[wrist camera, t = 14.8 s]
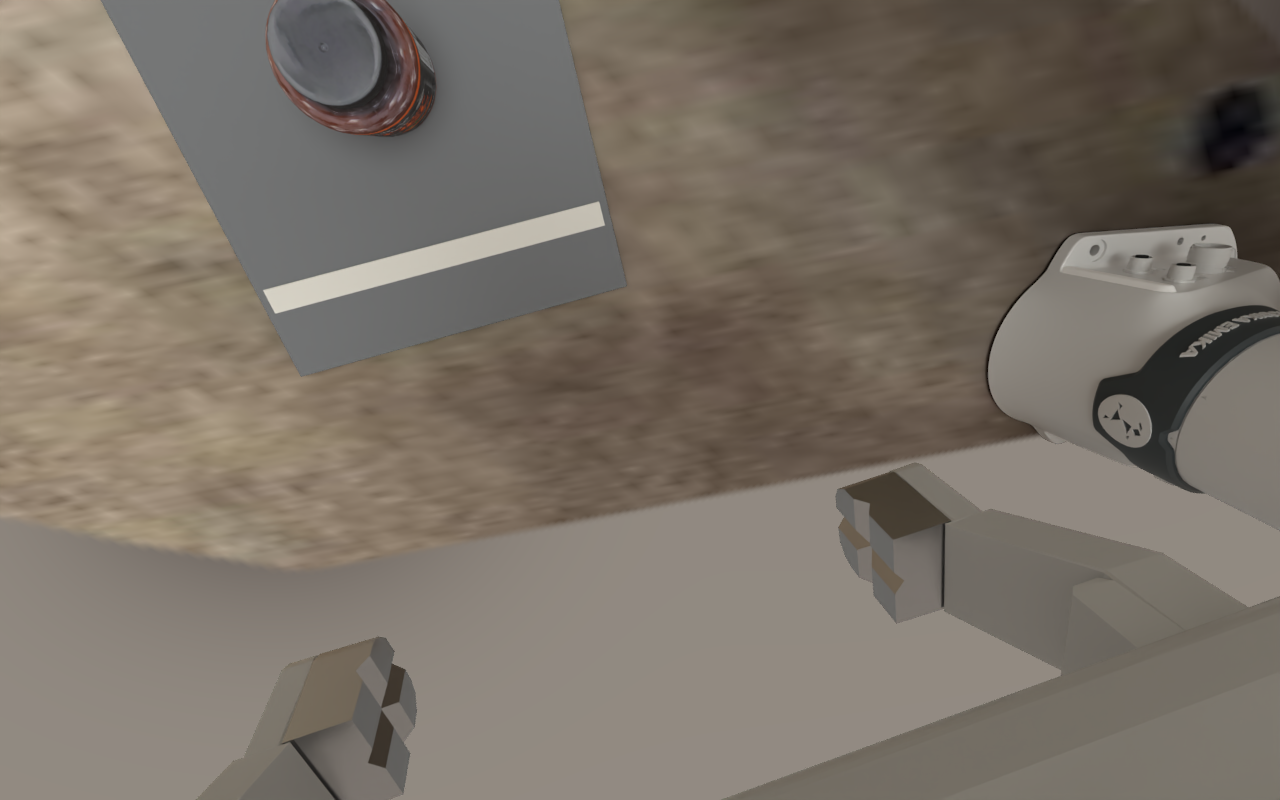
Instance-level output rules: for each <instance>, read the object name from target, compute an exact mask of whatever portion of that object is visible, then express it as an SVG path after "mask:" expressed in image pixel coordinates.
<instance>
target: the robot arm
mask: <svg viewBox="0 0 1280 800" xmlns="http://www.w3.org/2000/svg"><path fill="white" fill-rule="evenodd" d="M988 381H989V387H990V391H991V394H992V396H993V399H994V400H995V402H996V404H997V405H998V407H999V408H1000V409H1001V410H1002V411H1003V412H1004V413H1006V414H1007V415H1008V416H1010V417H1012V418H1014V419H1016V420H1019V421H1022V422H1025V423H1028V424H1030V425H1032V426H1033V427H1034V428H1035V430H1036V431H1037V432H1038V433H1039V435H1040V436H1041V437H1042V438H1044V439H1045V440H1047V441H1050V442H1052V443H1055V444H1061V443H1064V442H1066V441H1068V442H1071V443H1073V444H1076V445H1077V446H1080V447H1082V448H1085V449H1087V450H1089V451H1092V452H1094V453H1097V454H1099V455H1101V456H1104V457H1106V458H1108V459H1111V460H1113V461H1116V462H1118V463H1121V464H1123V465H1126V466H1129V467H1139V468H1141V469H1143V470H1145V471H1147V472H1149V473H1151V474H1153V475H1154V477H1155V478H1157V479H1160V480H1162V481H1164V482H1166V483H1168V484H1171V485H1175V486H1178V487H1180V488H1182V489H1184V490H1187V491H1190V492H1193V493H1205V494H1208V495H1210V496H1212V497H1214V498H1216V499H1218V500H1220V501H1222V502H1224V503H1226V504H1228V505H1230V506H1232V507H1234V508H1236V509H1238V510H1240V511H1242V512H1244V513H1246V514H1248V515H1250V516H1252V517H1253V518H1256V519H1258V520H1259V521H1262V522H1263V523H1265V524H1267V525H1269V526H1271V527H1273V528H1275V529H1277V530H1279V531H1280V281H1279V279H1278V276H1277V274H1276V273H1275V272H1274V271H1273V269H1271V268H1270V267H1269V266H1267V265H1264V264H1261V263H1256V262H1252V261H1247V260H1242V259H1237V247H1236V241H1235V238H1234V235H1233V232H1232V230H1231V228H1230V227H1228V226H1224V225H1220V224H1198V225H1184V226H1170V227H1157V228H1143V229H1129V230H1115V231H1101V232H1087V233H1077V234H1074V235H1072V236H1070V237H1069V238H1068V239H1067V240H1066V241H1065V242H1064V243H1063V244H1062V246H1061V247H1060V249H1059V250H1058V252H1057V253H1056V255H1055V257H1054V258H1053V260H1052V262H1051V264H1050V265H1049V267H1048V269H1047V271H1046V272H1045V273H1044V274H1043V275H1042V276H1041V277H1040V278H1039V280H1038V281H1036V282H1035V283H1034V284H1033V285H1032V286H1031V287H1030V288H1029V289H1028V290H1027V291H1026V292H1025V293H1024V294H1023V295H1022V296H1021V297H1020V299H1019V300H1018V301H1017V302H1016V303H1015V305H1014V306H1013V307H1012V309H1011V310H1010V312H1009V313H1008V314H1007V316H1006V318H1005V319H1004V321H1003V323H1002V325H1001V327H1000V329H999V331H998V333H997V335H996V338H995V340H994V343H993V346H992V350H991V353H990V358H989V366H988ZM836 507H837V509H838V510H839V511H840V512H841V513H842V515H843V516H844V518H843V520H842V522H841V524H840V526H839V527H838V528H839V536H840V543H841V545H842V548H843V551H844V554H845V557H846V558H847V560H848V562H849V564H850V566H851V567H852V568H853V570H854V571H855V572H856V574H857V575H858V576H859V577H860V578H862V579H864V580H867V581H870V582H872V583H873V591H874V592H873V593H874V596H875V598H876V599H877V600H878V601H879V603H880V604H881V605H882V606H883V608H884V609H885V610H886V611H887V612H888V614H889V615H890V616H891V617H892V618H893V620H894V621H895V622H896V623H900V622H903V621H906V620H909V619H913V618H916V617H919V616H922V615H925V614H928V613H932V612H935V611H938V610H941V609H944V611H945V612H947V613H949V614H951V615H953V616H955V617H957V618H959V619H961V620H963V621H965V622H967V623H968V624H970V625H972V626H975V627H977V628H978V629H980V630H982V631H984V632H987V633H988V634H990V635H992V636H994V637H997V638H998V639H1000V640H1002V641H1005V642H1006V643H1008V644H1010V645H1012V646H1014V647H1016V648H1018V649H1020V650H1022V651H1024V652H1026V653H1028V654H1030V655H1032V656H1034V657H1036V658H1038V659H1040V660H1042V661H1044V662H1046V663H1048V664H1050V665H1052V666H1054V667H1056V668H1058V669H1060V670H1061V676H1060V677H1057V678H1054V679H1051V680H1049V681H1046V682H1043V683H1040V684H1038V685H1035V686H1032V687H1029V688H1027V689H1024V690H1021V691H1018V692H1015V693H1013V694H1010V695H1007V696H1004V697H1002V698H999V699H996V700H994V701H991V702H988V703H986V704H983V705H980V706H977V707H974V708H972V709H969V710H966V711H963V712H961V713H958V714H955V715H953V716H950V717H947V718H944V719H941V720H939V721H936V722H933V723H931V724H928V725H925V726H922V727H920V728H917V729H914V730H911V731H909V732H906V733H903V734H900V735H897V736H895V737H892V738H890V739H887V740H884V741H881V742H878V743H876V744H873V745H870V746H867V747H865V748H862V749H859V750H856V751H854V752H851V753H848V754H846V755H843V756H840V757H837V758H834V759H832V760H829V761H826V762H823V763H821V764H818V765H815V766H812V767H810V768H807V769H804V770H801V771H799V772H796V773H793V774H790V775H788V776H785V777H782V778H780V779H777V780H774V781H771V782H769V783H766V784H763V785H761V786H758V787H755V788H752V789H749V790H747V791H744V792H741V793H738V794H736V795H733V796H730V797H727V798H725V799H722V800H1280V596H1279V597H1277V598H1274V599H1271V600H1268V601H1266V602H1263V603H1260V604H1257V605H1255V606H1252V607H1247V606H1246V605H1244V604H1242V603H1241V602H1239V601H1238V600H1236V599H1234V598H1233V597H1231V596H1230V595H1228V594H1226V593H1225V592H1223V591H1222V590H1220V589H1219V588H1217V587H1216V586H1214V585H1212V584H1211V583H1209V582H1208V581H1206V580H1204V579H1203V578H1201V577H1199V576H1198V575H1196V574H1195V573H1193V572H1192V571H1190V570H1188V569H1187V568H1185V567H1184V566H1182V565H1181V564H1179V563H1177V562H1176V561H1174V560H1173V559H1171V558H1170V557H1168V556H1167V555H1165V554H1163V553H1161V552H1157V551H1153V550H1149V549H1145V548H1141V547H1137V546H1133V545H1129V544H1125V543H1122V542H1118V541H1114V540H1110V539H1106V538H1102V537H1098V536H1094V535H1090V534H1086V533H1082V532H1079V531H1074V530H1071V529H1067V528H1063V527H1059V526H1055V525H1051V524H1047V523H1043V522H1040V521H1036V520H1032V519H1028V518H1024V517H1020V516H1016V515H1012V514H1009V513H1004V512H1001V511H997V510H993V509H989V510H986V511H981V510H980V509H979V508H977V507H976V506H975V505H974V504H972V503H971V502H970V501H968V500H967V499H966V498H965V497H963V496H962V495H961V494H959V493H958V492H957V491H956V490H954V489H953V488H951V487H950V486H949V485H948V484H946V483H945V482H944V481H942V480H941V479H940V478H939V477H937V476H936V475H935V474H934V473H932V472H931V471H930V470H928V469H927V468H926V467H924V466H923V465H922V464H918V463H912V464H909V465H906V466H904V467H901V468H898V469H895V470H892V471H890V472H889V473H885V474H882V475H879V476H876V477H873V478H870V479H867V480H864V481H861V482H858V483H855V484H852V485H849V486H846V487H843V488H840V489H837V493H836ZM393 656H394V650H393V648H392V647H391V645H390V644H389V642H388V641H387V639H386V638H384V637H376V638H372V639H369V640H365V641H362V642H359V643H355V644H352V645H349V646H346V647H342V648H339V649H335V650H332V651H329V652H325V653H322V654H320V655H318V656H313V657H310V658H307V659H304V660H300V661H297V662H294V663H290V664H289V665H288V666H286V667H285V668H284V669H283V670H282V671H281V673H280V676H279V678H278V680H277V682H276V685H275V687H274V689H273V692H272V694H271V696H270V699H269V701H268V703H267V705H266V708H265V710H264V712H263V715H262V717H261V719H260V721H259V724H258V726H257V728H256V730H255V733H254V735H253V737H252V739H251V742H250V744H249V746H248V748H247V751H246V753H245V756H244V758H241V759H238V760H235V761H233V762H232V763H231V764H230V765H229V766H228V767H227V768H226V769H225V770H224V771H223V772H222V773H221V774H220V775H219V776H218V777H217V778H216V779H215V780H214V781H213V783H212V784H211V785H210V786H209V787H208V788H207V789H206V790H205V791H204V792H203V793H202V794H201V795H200V796H199V797H198V798H197V799H196V800H389V799H392V798H394V797H397V796H400V795H403V793H404V787H405V781H406V775H407V769H408V764H409V757H410V752H409V750H408V749H407V747H406V746H405V744H404V741H405V740H406V738H407V737H408V735H409V734H410V733H411V731H412V730H413V729H414V727H415V720H416V713H417V709H416V708H417V707H416V695H415V690H414V687H413V684H412V681H411V679H410V677H409V675H408V673H407V672H406V670H405V669H403V668H401V667H398V666H396V665H394V664H392V661H393Z"/></svg>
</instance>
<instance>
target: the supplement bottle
mask: <svg viewBox="0 0 1280 800" xmlns="http://www.w3.org/2000/svg"><path fill="white" fill-rule="evenodd" d="M265 39H266V50H267V55H268V59H269V62H270V65H271V68H272V71H273V73H274V76H275V78H276V79H277V81H278V83H279V85H280V86H281V88H282V89H283V91H284V93H285V94H286V95H287V97H288V98H289V99H290V100H291V101H292V102H293V103H294V105H296V106H297V107H298V108H299V109H300V110H301V111H302V112H303V113H304V114H305V115H307V116H308V117H310V118H311V119H313V120H315V121H316V122H318V123H320V124H321V125H324V126H326V127H328V128H330V129H333V130H335V131H339V132H342V133H347V134H354V135H368V136H379V137H394V136H399V135H402V134H406V133H408V132H410V131H413V130H414V129H416V128H417V127H418V126H420V125H421V124H422V123H423V121H424V120H425V119H426V118H427V116H428V115H429V113H430V111H431V109H432V107H433V104H434V101H435V96H436V88H437V87H436V77H435V71H434V67H433V64H432V61H431V59H430V57H429V54H428V53H427V51H426V49H425V47H424V45H423V44H422V42H421V41H420V40H419V38H418V37H417V36H416V35H415V34H414V32H413V31H412V30H411V29H410V28H409V26H408V25H407V24H406V23H405V22H404V20H403V19H402V18H401V17H400V15H399V14H398V13H397V12H396V11H395V10H394V8H393V7H392V6H391V5H390V4H389V3H388V2H387V1H386V0H275V1H274V3H273V5H272V7H271V9H270V12H269V15H268V18H267V24H266V32H265Z"/></svg>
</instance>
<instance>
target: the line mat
mask: <svg viewBox="0 0 1280 800" xmlns="http://www.w3.org/2000/svg"><path fill="white" fill-rule="evenodd" d="M274 1H275V0H101V2H102V3H103V5H104V7H105V9H106V11H107V13H108V15H109V17H110V18H111V20H112V22H113V24H114V26H115V28H116V30H117V32H118V34H119V35H120V37H121V39H122V41H123V43H124V45H125V47H126V49H127V50H128V52H129V54H130V56H131V58H132V60H133V62H134V64H135V66H136V67H137V69H138V71H139V73H140V75H141V77H142V79H143V81H144V82H145V84H146V86H147V88H148V90H149V92H150V94H151V96H152V97H153V99H154V101H155V103H156V105H157V107H158V109H159V111H160V113H161V114H162V116H163V118H164V120H165V122H166V124H167V126H168V128H169V129H170V131H171V133H172V135H173V137H174V139H175V141H176V143H177V145H178V146H179V148H180V150H181V152H182V154H183V156H184V158H185V160H186V161H187V163H188V165H189V167H190V169H191V171H192V173H193V175H194V177H195V178H196V180H197V182H198V184H199V186H200V188H201V190H202V192H203V193H204V195H205V197H206V199H207V201H208V203H209V205H210V207H211V208H212V210H213V212H214V214H215V216H216V218H217V220H218V222H219V224H220V225H221V227H222V229H223V231H224V233H225V235H226V237H227V239H228V240H229V242H230V244H231V246H232V248H233V250H234V252H235V254H236V256H237V257H238V259H239V261H240V263H241V265H242V267H243V269H244V271H245V272H246V274H247V276H248V278H249V280H250V282H251V284H252V286H253V287H254V289H255V291H256V293H257V295H258V297H259V299H260V301H261V303H262V304H263V306H264V308H265V310H266V312H267V314H268V316H269V318H270V319H271V321H272V323H273V325H274V327H275V329H276V331H277V333H278V335H279V336H280V338H281V340H282V342H283V344H284V346H285V348H286V350H287V351H288V353H289V355H290V357H291V359H292V361H293V363H294V365H295V366H296V368H297V370H298V372H299V374H300V376H301V377H302V376H305V375H309V374H313V373H316V372H320V371H323V370H327V369H331V368H334V367H338V366H341V365H345V364H349V363H352V362H356V361H359V360H363V359H367V358H370V357H374V356H377V355H381V354H385V353H388V352H392V351H395V350H399V349H403V348H406V347H410V346H413V345H417V344H421V343H424V342H428V341H431V340H435V339H438V338H442V337H446V336H449V335H453V334H456V333H460V332H464V331H467V330H471V329H474V328H478V327H482V326H485V325H489V324H492V323H496V322H500V321H503V320H507V319H510V318H514V317H518V316H521V315H525V314H528V313H532V312H536V311H539V310H543V309H546V308H550V307H554V306H557V305H561V304H564V303H568V302H572V301H575V300H579V299H582V298H586V297H590V296H593V295H597V294H600V293H604V292H608V291H611V290H615V289H618V288H622V287H626V286H627V284H626V280H625V275H624V271H623V267H622V263H621V259H620V254H619V250H618V246H617V242H616V238H615V234H614V229H613V225H612V221H611V217H610V213H609V208H608V204H607V200H606V196H605V192H604V188H603V183H602V179H601V175H600V171H599V167H598V162H597V158H596V154H595V150H594V146H593V142H592V137H591V133H590V129H589V125H588V121H587V116H586V112H585V108H584V104H583V100H582V96H581V91H580V87H579V83H578V79H577V75H576V70H575V66H574V62H573V58H572V54H571V49H570V45H569V41H568V37H567V33H566V29H565V24H564V20H563V16H562V12H561V8H560V3H559V0H386V1H387V2H388V3H389V4H390V5H391V6H392V7H393V8H394V10H395V11H396V12H397V13H398V14H399V15H400V17H401V18H402V19H403V20H404V22H405V23H406V24H407V25H408V26H409V28H410V29H411V30H412V31H413V32H414V34H415V35H416V36H417V37H418V38H419V40H420V41H421V42H422V44H423V45H424V47H425V49H426V51H427V53H428V54H429V57H430V59H431V61H432V64H433V67H434V71H435V77H436V87H437V88H436V96H435V101H434V104H433V107H432V109H431V111H430V113H429V115H428V116H427V118H426V119H425V120H424V121H423V123H422V124H421V125H420V126H418V127H417V128H416V129H414V130H413V131H410V132H408V133H406V134H402V135H399V136H394V137H379V136H368V135H354V134H347V133H342V132H339V131H335V130H333V129H330V128H328V127H326V126H324V125H321V124H320V123H318V122H316V121H315V120H313V119H311V118H310V117H308V116H307V115H305V114H304V113H303V112H302V111H301V110H300V109H299V108H298V107H297V106H296V105H294V103H293V102H292V101H291V100H290V99H289V98H288V97H287V95H286V94H285V93H284V91H283V89H282V88H281V86H280V85H279V83H278V81H277V79H276V78H275V76H274V73H273V71H272V68H271V65H270V62H269V59H268V55H267V50H266V39H265V32H266V24H267V18H268V15H269V12H270V9H271V7H272V5H273V3H274Z"/></svg>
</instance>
